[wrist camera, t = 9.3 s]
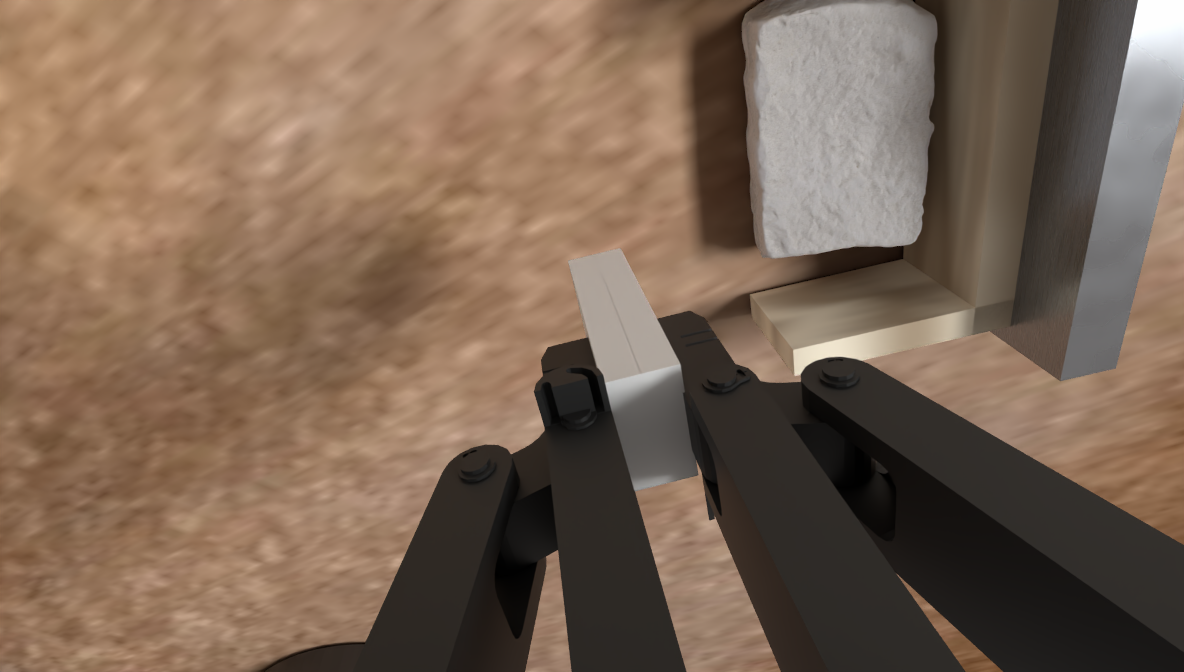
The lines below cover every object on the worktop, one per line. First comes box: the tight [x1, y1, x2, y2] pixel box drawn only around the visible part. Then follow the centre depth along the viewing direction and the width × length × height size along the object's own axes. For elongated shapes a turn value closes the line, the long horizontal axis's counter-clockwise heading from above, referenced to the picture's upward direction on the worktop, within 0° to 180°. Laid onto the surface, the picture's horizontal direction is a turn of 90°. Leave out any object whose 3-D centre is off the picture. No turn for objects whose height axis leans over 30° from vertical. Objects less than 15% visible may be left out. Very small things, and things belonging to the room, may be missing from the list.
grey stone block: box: [742, 0, 937, 259], centre depth 23 cm, size 10×6×6 cm, turn 5°
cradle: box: [750, 0, 1059, 376], centre depth 23 cm, size 8×14×5 cm, turn 11°
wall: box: [990, 0, 1184, 381], centre depth 22 cm, size 2×16×8 cm, turn 11°
